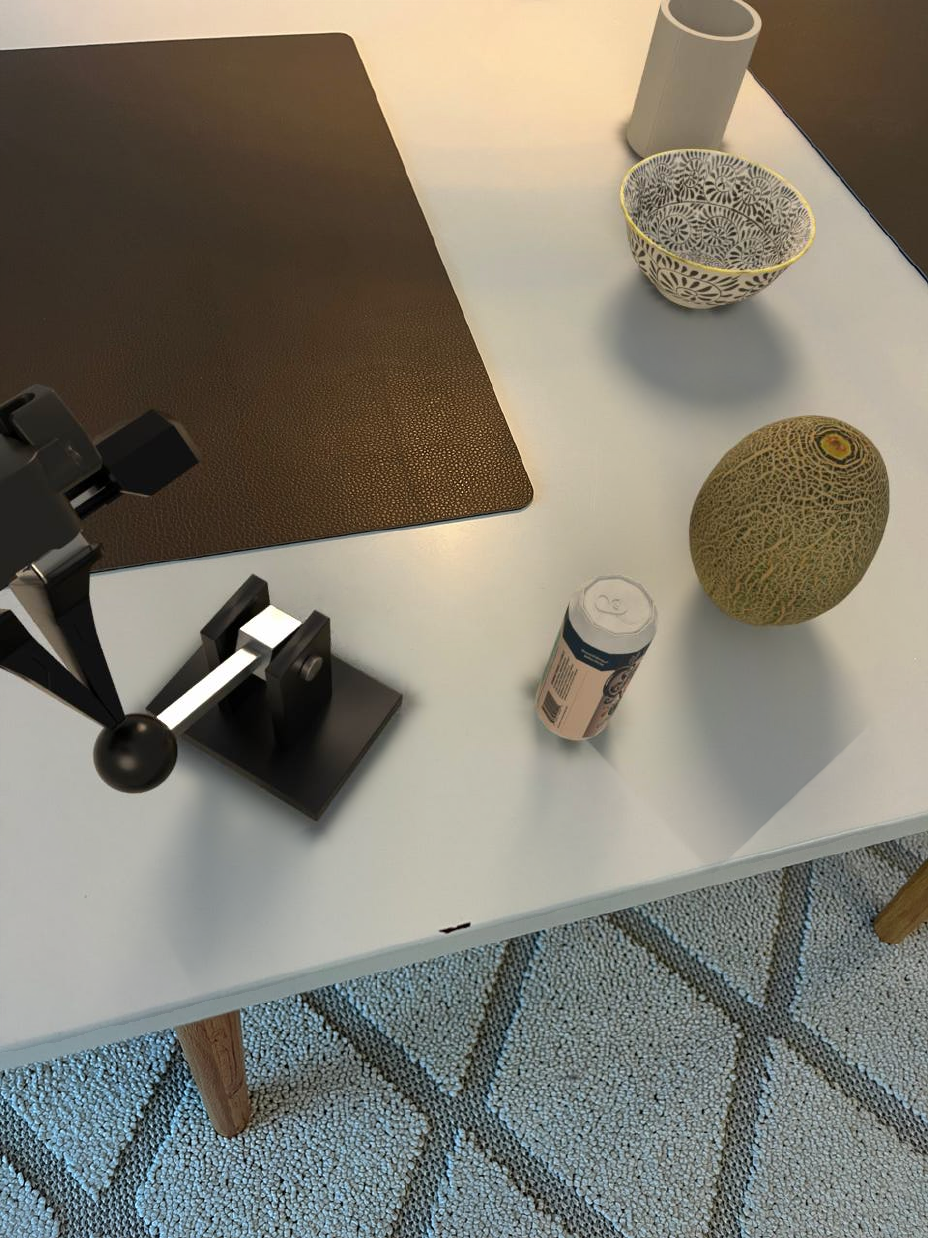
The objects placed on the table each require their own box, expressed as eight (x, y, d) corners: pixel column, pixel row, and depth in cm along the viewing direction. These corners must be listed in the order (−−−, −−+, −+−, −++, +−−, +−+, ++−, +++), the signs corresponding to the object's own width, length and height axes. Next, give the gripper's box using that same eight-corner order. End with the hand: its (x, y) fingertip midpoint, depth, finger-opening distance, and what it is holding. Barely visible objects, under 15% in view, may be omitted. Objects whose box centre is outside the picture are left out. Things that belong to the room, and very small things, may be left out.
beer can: (606, 750, 58) (661, 652, 48) (529, 736, 58) (568, 634, 48) (611, 682, 60) (665, 575, 50) (538, 668, 60) (576, 558, 50)
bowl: (668, 367, 77) (696, 290, 70) (566, 248, 83) (584, 169, 77) (816, 318, 82) (855, 242, 76) (709, 210, 89) (736, 133, 82)
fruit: (631, 562, 66) (698, 406, 53) (748, 501, 70) (835, 344, 57) (740, 688, 61) (842, 551, 49) (858, 615, 65) (980, 471, 53)
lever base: (316, 822, 53) (311, 750, 45) (148, 717, 56) (113, 630, 48) (402, 703, 58) (411, 618, 50) (243, 610, 60) (226, 514, 52)
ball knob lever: (137, 823, 42) (142, 771, 40) (74, 782, 43) (75, 728, 40) (305, 669, 52) (316, 620, 50) (252, 637, 53) (261, 588, 50)
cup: (608, 132, 94) (640, 2, 84) (669, 107, 98) (707, -21, 88) (674, 180, 91) (715, 50, 81) (735, 151, 94) (781, 24, 84)
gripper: (-460, 552, 24) (-37, 950, 30) (128, 235, 33) (362, 595, 39) (-411, 560, 33) (-91, 867, 39) (43, 308, 41) (244, 592, 48)
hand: (115, 724), depth 41 cm, fingers closed
